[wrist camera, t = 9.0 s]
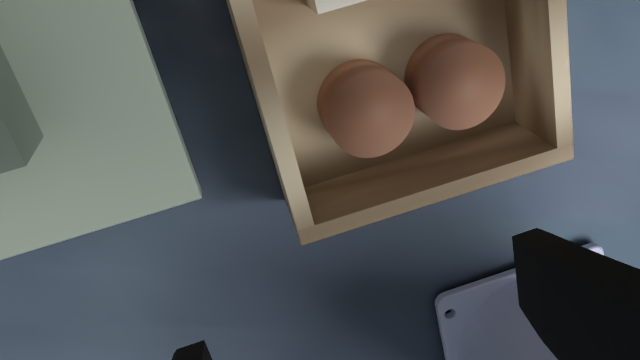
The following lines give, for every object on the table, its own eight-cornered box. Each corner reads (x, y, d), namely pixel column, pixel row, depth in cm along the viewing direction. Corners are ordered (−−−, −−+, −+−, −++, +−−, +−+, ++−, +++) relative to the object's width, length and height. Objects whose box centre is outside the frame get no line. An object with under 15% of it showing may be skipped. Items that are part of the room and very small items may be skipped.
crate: (523, 126, 24) (574, 158, 21) (285, 200, 24) (301, 245, 20) (489, -258, 19) (551, -290, 16) (172, -178, 18) (171, -196, 15)
